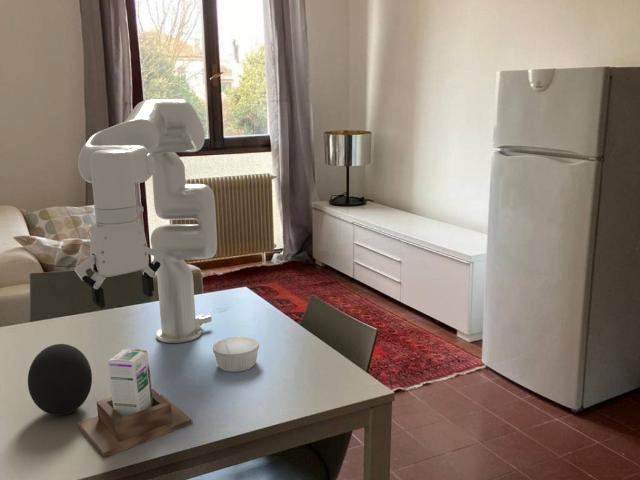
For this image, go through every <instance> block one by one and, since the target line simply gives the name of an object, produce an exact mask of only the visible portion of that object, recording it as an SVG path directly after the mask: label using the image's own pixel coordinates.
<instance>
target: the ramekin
mask: <svg viewBox="0 0 640 480" xmlns="http://www.w3.org/2000/svg"><path fill="white" fill-rule="evenodd" d="M259 348H260V344H259V342H258V341H257V340H256V339H255V338H253V337H247V336H232V337H231V336H230V337H227V338H223V339H221V340H219V341H217V342H215V343H214V344H213V346H212V351H213V354H214V357H215V360H216V364H217V367H218V368H219V369H221V370H222V371H224V372H227V373H228V372H229V373H237V372H238V373H240V372H243V371H247V370H249V369H251V368H253V366H255V364H256V363H257V360H258V351H259Z"/></svg>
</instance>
